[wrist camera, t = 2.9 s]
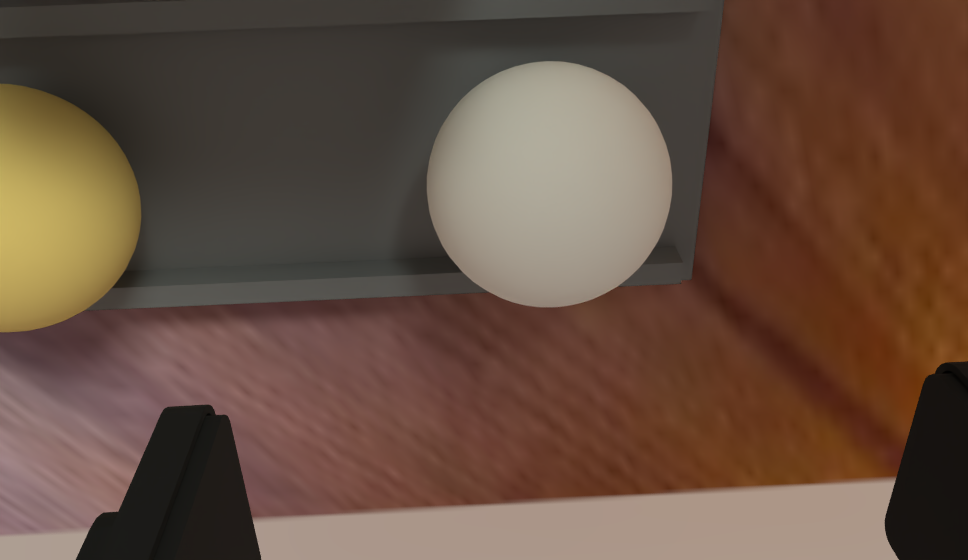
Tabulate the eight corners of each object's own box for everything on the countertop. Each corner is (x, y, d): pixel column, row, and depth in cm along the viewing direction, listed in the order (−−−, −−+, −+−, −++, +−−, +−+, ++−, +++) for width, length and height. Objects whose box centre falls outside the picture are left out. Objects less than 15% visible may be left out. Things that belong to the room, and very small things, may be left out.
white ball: (652, 26, 18) (715, 107, 14) (637, 230, 21) (686, 350, 17) (421, 36, 18) (414, 119, 14) (435, 239, 21) (432, 362, 17)
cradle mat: (723, -54, 18) (741, -42, 17) (686, 270, 22) (699, 296, 21) (-184, -20, 18) (-227, -6, 16) (-48, 302, 22) (-74, 331, 21)
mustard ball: (140, 46, 18) (47, 134, 14) (189, 250, 21) (124, 377, 16) (-97, 55, 18) (-265, 147, 14) (-17, 259, 21) (-138, 389, 16)
